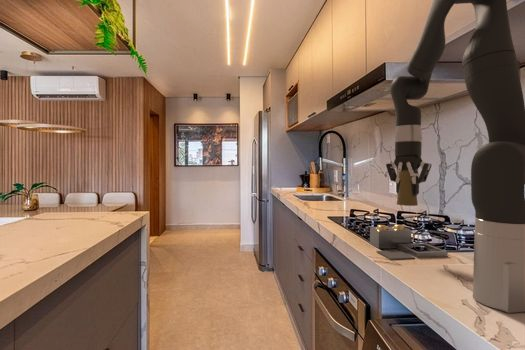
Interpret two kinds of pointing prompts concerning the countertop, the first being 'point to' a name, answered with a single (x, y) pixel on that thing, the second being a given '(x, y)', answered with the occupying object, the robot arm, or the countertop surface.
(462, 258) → the countertop surface
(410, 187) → the cork
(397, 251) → the mat
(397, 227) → the plunger
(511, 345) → the countertop surface
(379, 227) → the plunger
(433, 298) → the countertop surface
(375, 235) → the housing
